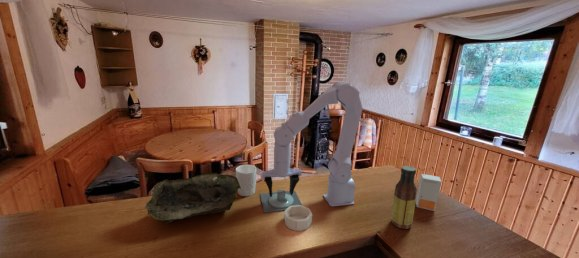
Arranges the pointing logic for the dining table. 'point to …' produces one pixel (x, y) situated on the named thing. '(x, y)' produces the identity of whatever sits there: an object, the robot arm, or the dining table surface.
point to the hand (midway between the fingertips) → (280, 194)
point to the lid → (281, 200)
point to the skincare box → (428, 192)
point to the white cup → (246, 179)
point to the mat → (269, 208)
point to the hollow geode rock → (192, 196)
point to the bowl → (298, 217)
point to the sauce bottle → (404, 199)
